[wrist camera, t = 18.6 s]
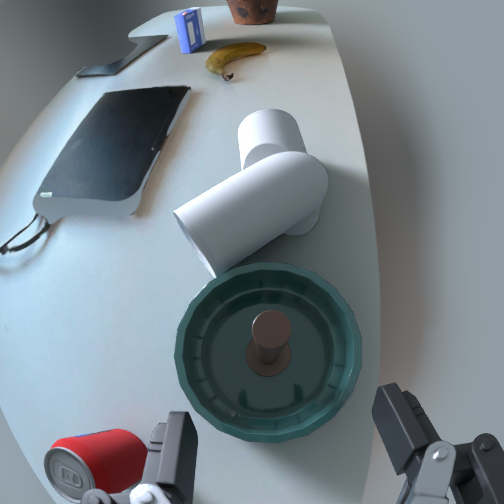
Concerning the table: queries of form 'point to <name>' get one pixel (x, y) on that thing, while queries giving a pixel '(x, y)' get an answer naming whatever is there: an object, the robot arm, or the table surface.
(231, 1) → the brown pot
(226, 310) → the bowl
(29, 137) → the table surface
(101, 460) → the beverage can
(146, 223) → the table surface
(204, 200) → the elbow connector
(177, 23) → the walkman
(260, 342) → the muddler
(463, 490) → the robot arm
